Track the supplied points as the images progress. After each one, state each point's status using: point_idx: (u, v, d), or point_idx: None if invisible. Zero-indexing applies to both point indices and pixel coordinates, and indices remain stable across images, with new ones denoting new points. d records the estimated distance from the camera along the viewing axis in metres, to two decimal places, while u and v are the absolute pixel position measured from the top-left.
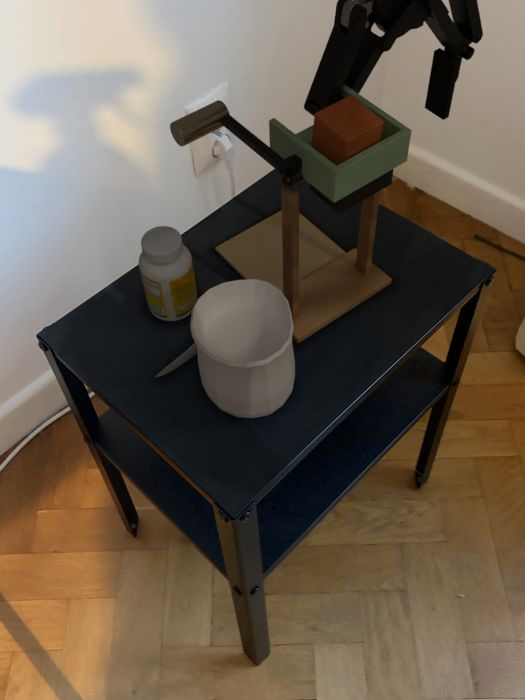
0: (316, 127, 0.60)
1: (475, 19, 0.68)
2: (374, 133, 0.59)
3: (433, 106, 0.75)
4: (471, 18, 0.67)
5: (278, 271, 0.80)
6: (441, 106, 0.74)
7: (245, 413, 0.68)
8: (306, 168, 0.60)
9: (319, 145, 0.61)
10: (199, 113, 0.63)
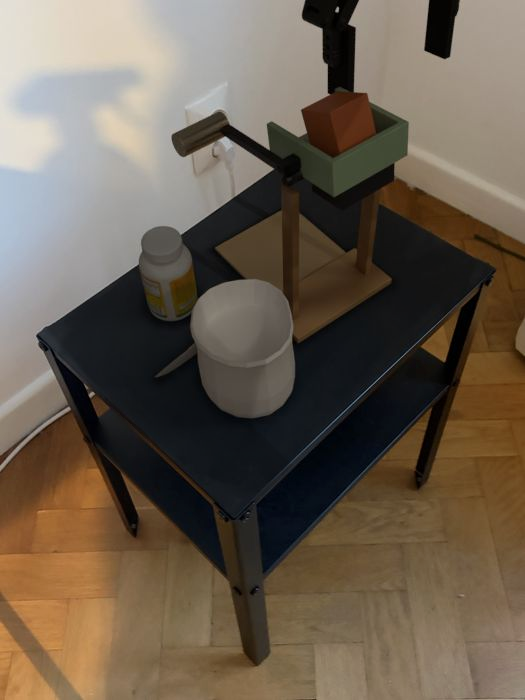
0: (306, 123, 0.60)
1: None
2: (361, 106, 0.58)
3: (433, 46, 0.70)
4: None
5: (278, 271, 0.80)
6: (442, 44, 0.69)
7: (245, 413, 0.68)
8: (305, 166, 0.60)
9: (315, 141, 0.61)
10: (199, 123, 0.64)
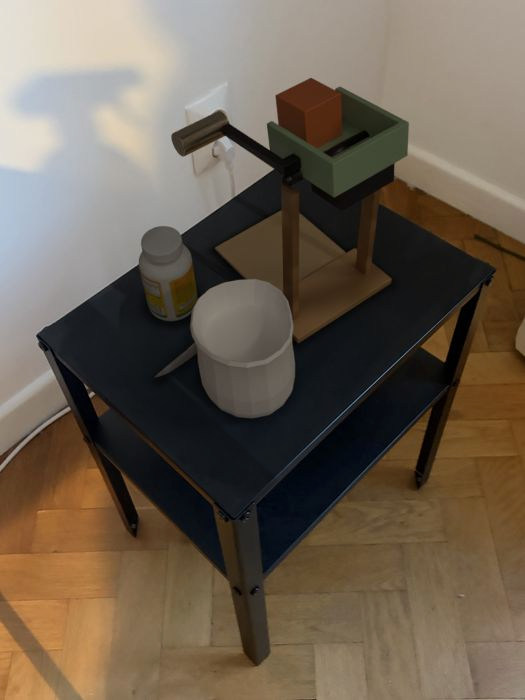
0: None
1: None
2: (308, 84, 0.63)
3: None
4: None
5: (278, 271, 0.80)
6: None
7: (245, 413, 0.68)
8: (305, 166, 0.60)
9: None
10: (199, 123, 0.64)
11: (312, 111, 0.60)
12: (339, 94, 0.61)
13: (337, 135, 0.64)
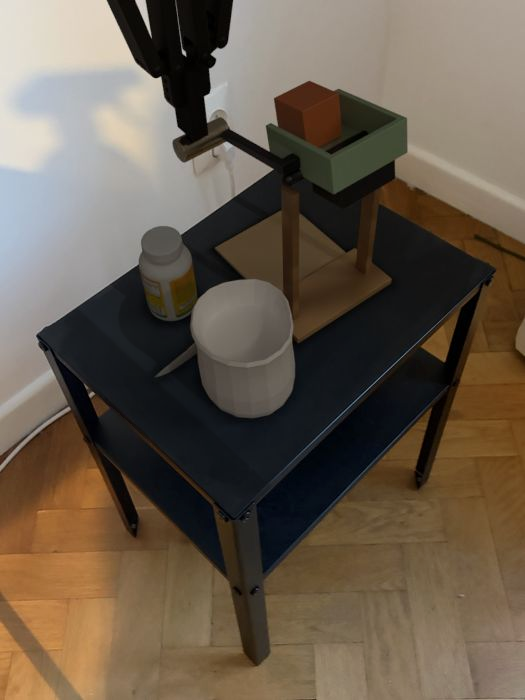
0: None
1: (226, 10, 0.57)
2: (307, 86, 0.63)
3: None
4: (223, 3, 0.56)
5: (278, 271, 0.80)
6: None
7: (245, 413, 0.68)
8: (304, 165, 0.60)
9: None
10: None
11: (310, 111, 0.61)
12: (337, 94, 0.61)
13: (337, 136, 0.64)
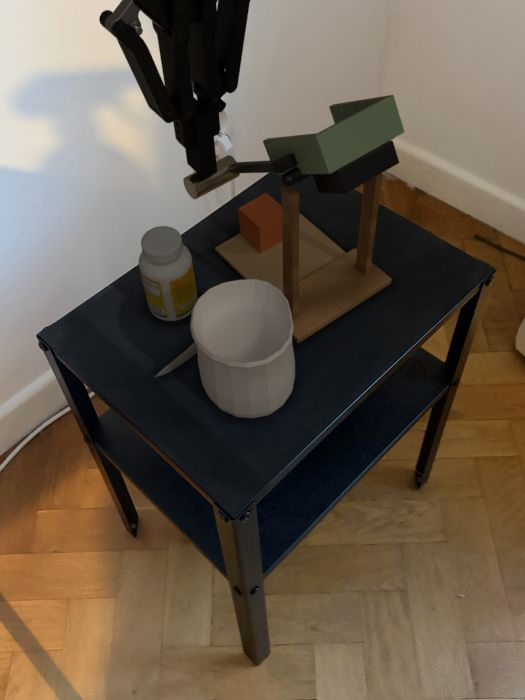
0: (253, 224, 0.79)
1: (236, 58, 0.59)
2: None
3: None
4: (233, 52, 0.58)
5: (278, 271, 0.80)
6: None
7: (245, 413, 0.68)
8: (300, 159, 0.60)
9: (245, 221, 0.81)
10: None
11: None
12: None
13: None
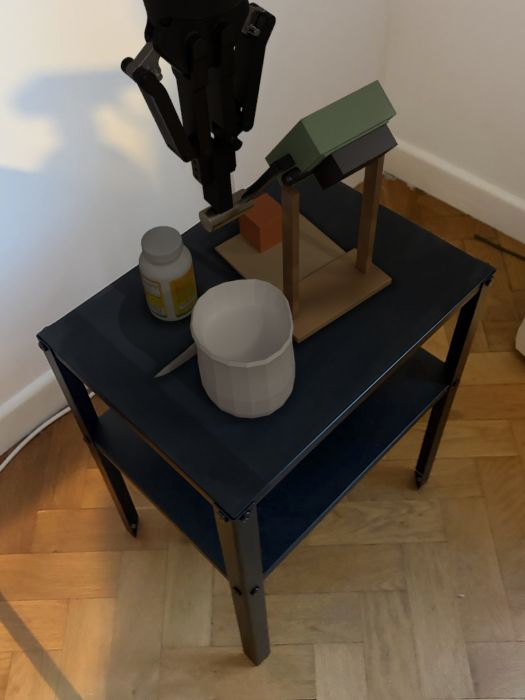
0: (253, 225, 0.79)
1: (252, 99, 0.60)
2: None
3: None
4: (249, 93, 0.60)
5: (278, 271, 0.80)
6: None
7: (245, 413, 0.68)
8: (295, 156, 0.60)
9: (245, 221, 0.81)
10: None
11: None
12: None
13: None
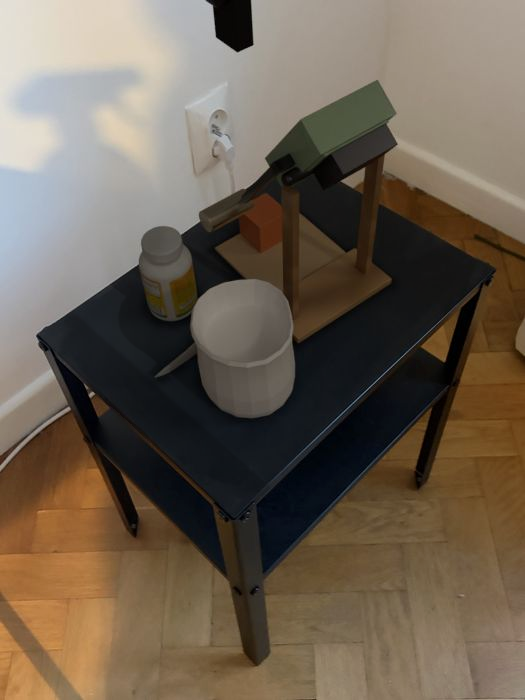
0: (253, 225, 0.79)
1: None
2: None
3: None
4: None
5: (278, 271, 0.80)
6: None
7: (245, 413, 0.68)
8: (295, 156, 0.60)
9: (245, 221, 0.81)
10: (220, 200, 0.69)
11: None
12: None
13: None
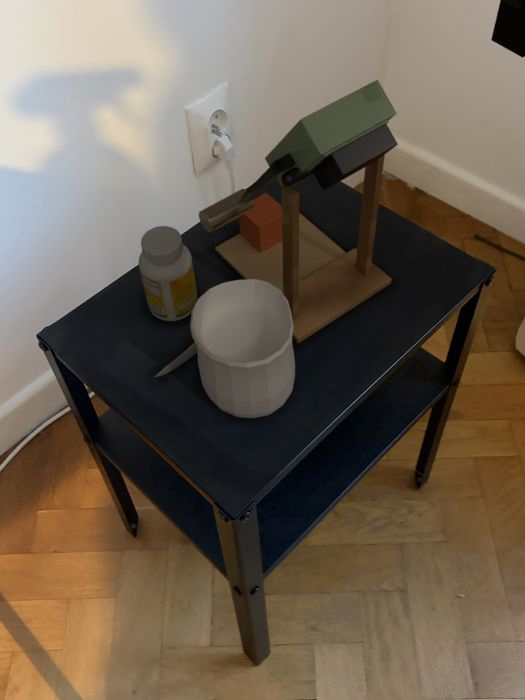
0: (253, 225, 0.79)
1: None
2: None
3: None
4: None
5: (278, 271, 0.80)
6: None
7: (245, 412, 0.68)
8: (295, 156, 0.60)
9: (245, 221, 0.81)
10: (220, 200, 0.69)
11: None
12: None
13: None
